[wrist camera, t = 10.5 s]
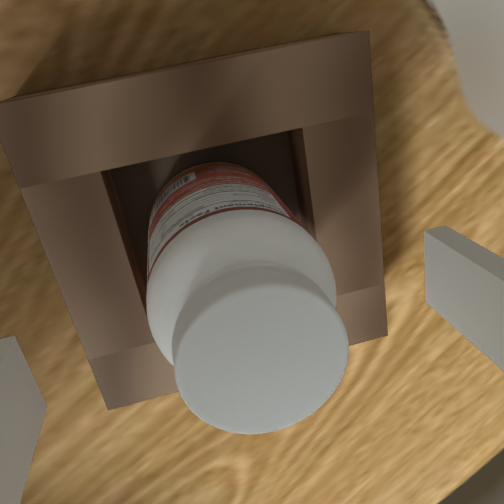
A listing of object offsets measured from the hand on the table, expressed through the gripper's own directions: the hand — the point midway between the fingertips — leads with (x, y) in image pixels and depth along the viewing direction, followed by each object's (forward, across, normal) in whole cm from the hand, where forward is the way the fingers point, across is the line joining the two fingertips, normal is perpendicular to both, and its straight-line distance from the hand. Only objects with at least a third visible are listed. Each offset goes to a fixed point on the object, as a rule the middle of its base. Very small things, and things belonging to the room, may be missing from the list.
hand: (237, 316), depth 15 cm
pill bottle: (+8, 0, 0) cm, 8 cm away
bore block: (+9, 0, 0) cm, 9 cm away
